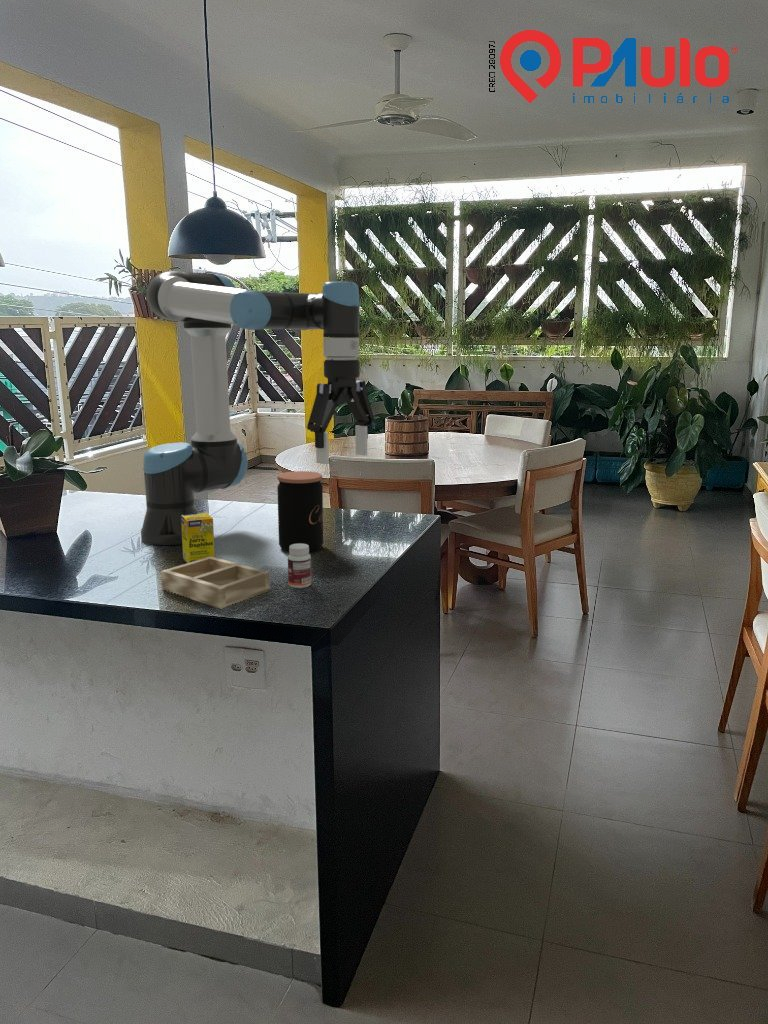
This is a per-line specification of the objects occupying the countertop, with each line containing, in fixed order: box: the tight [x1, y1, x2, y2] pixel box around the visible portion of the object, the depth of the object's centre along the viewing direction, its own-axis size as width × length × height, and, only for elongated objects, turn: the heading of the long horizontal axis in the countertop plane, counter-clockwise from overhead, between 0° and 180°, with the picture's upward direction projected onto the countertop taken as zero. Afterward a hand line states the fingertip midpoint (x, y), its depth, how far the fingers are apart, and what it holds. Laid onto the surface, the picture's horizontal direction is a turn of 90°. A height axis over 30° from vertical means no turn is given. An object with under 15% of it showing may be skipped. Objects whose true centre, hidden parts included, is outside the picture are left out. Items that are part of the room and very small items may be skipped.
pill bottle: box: [287, 543, 312, 589], centre depth 157 cm, size 5×5×8 cm
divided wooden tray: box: [160, 556, 271, 610], centre depth 154 cm, size 18×13×4 cm
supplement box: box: [181, 512, 216, 564], centre depth 171 cm, size 6×6×11 cm
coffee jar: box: [276, 470, 324, 554], centre depth 182 cm, size 11×11×18 cm
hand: (342, 459), depth 164 cm, fingers open, 13 cm apart
